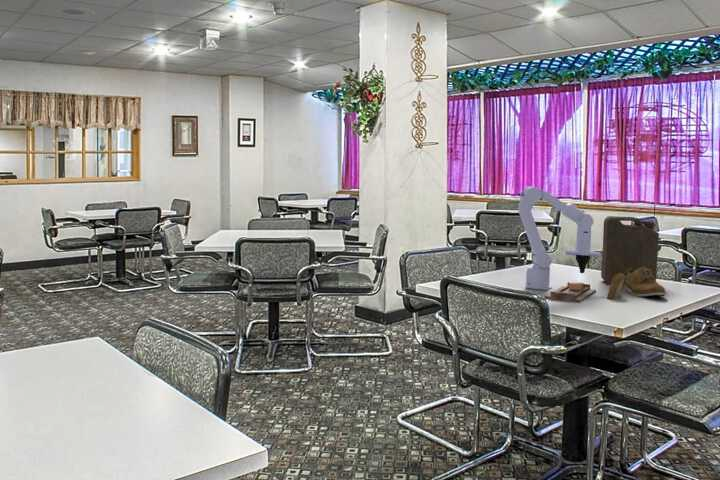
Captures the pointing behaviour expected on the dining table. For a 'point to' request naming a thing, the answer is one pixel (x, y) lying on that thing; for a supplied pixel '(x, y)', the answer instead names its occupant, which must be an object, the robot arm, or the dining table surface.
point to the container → (628, 247)
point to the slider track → (571, 293)
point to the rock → (616, 286)
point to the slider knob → (576, 285)
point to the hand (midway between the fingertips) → (582, 272)
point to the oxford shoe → (643, 283)
